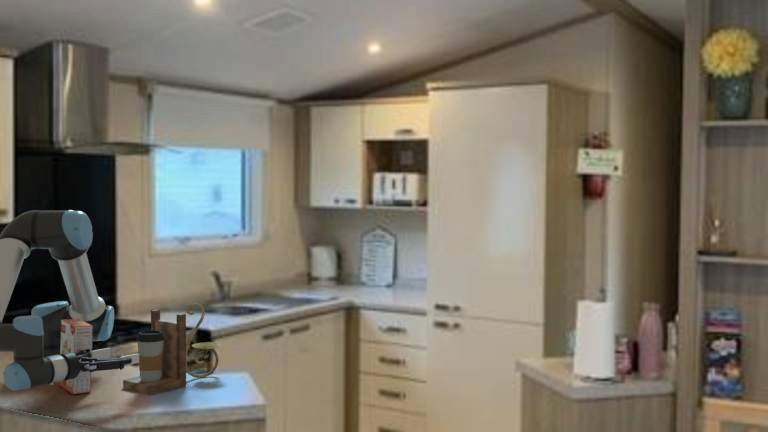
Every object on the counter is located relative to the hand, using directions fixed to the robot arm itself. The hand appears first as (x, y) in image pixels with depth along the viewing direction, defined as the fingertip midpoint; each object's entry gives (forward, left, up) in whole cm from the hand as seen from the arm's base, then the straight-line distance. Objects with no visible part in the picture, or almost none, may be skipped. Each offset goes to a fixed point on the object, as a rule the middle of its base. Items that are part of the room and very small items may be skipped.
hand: (124, 355), depth 253 cm
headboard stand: (0, +11, -12) cm, 17 cm away
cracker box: (-17, -6, -12) cm, 22 cm away
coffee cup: (0, +10, -10) cm, 14 cm away
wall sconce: (+2, +28, -12) cm, 31 cm away
